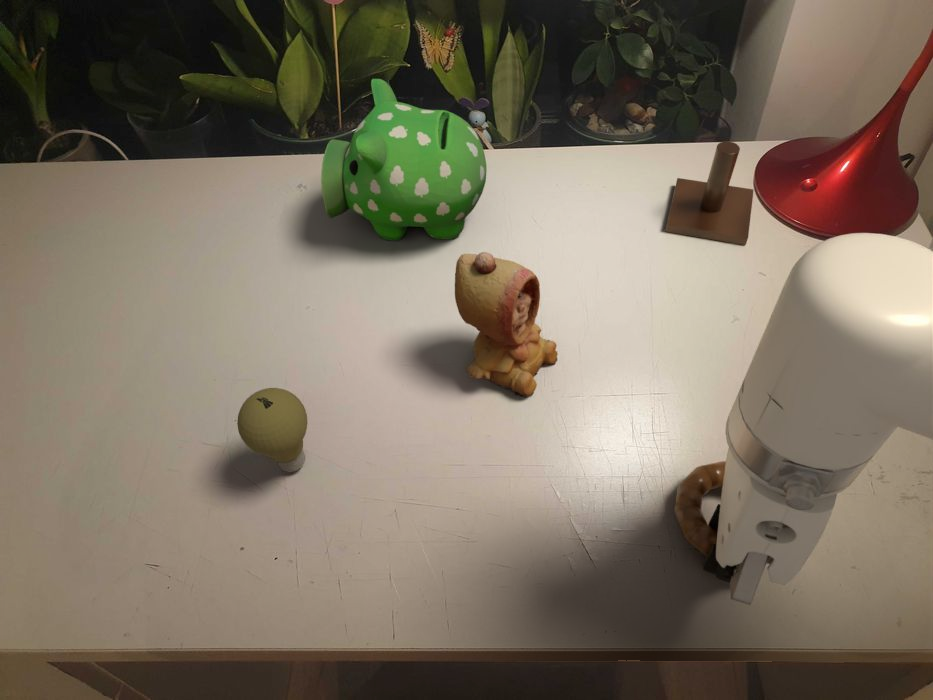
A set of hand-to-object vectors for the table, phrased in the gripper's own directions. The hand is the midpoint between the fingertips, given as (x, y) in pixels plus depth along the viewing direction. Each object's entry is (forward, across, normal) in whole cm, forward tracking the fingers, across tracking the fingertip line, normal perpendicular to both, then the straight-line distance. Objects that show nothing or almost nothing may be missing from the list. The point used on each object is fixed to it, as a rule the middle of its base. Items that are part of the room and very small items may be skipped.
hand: (726, 552), depth 52 cm
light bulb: (+1, -3, +38) cm, 38 cm away
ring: (-1, +3, 0) cm, 3 cm away
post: (+1, +42, +6) cm, 43 cm away
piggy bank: (+1, +32, +40) cm, 51 cm away
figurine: (+1, +14, +23) cm, 27 cm away
